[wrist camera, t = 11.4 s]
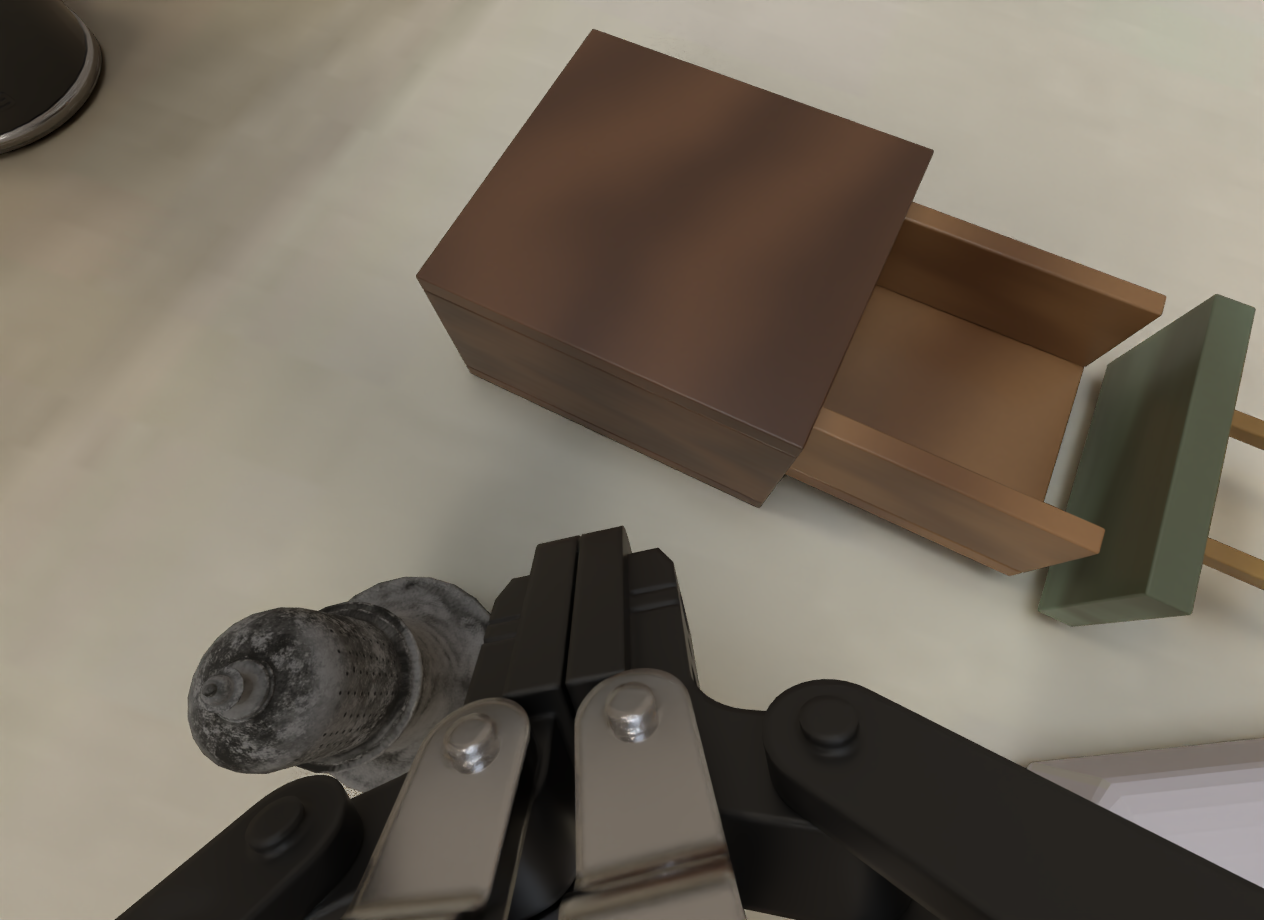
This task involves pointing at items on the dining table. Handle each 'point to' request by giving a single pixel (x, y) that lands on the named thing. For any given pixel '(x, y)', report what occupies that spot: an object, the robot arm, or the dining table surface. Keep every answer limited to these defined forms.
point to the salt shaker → (338, 682)
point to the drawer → (1038, 420)
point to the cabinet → (674, 260)
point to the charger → (1181, 796)
